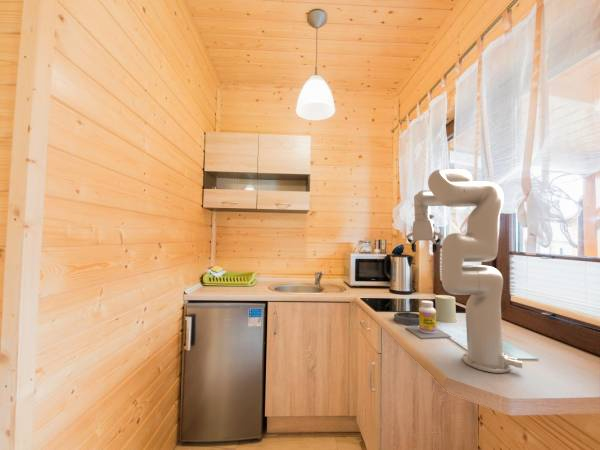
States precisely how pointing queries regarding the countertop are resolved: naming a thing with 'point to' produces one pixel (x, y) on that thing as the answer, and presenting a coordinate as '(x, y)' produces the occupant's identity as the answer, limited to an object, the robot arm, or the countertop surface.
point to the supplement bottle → (427, 318)
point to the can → (445, 308)
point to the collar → (407, 318)
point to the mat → (422, 335)
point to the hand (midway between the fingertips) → (424, 252)
